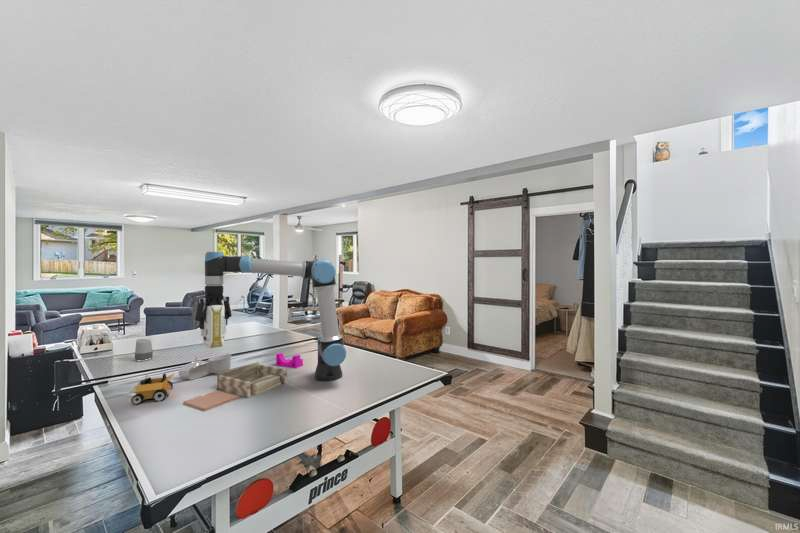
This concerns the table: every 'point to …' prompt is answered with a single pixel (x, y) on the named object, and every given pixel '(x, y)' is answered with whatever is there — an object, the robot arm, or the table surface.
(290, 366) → the toy block
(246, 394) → the birch rack
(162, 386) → the yellow toy car
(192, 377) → the vr headset
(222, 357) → the teacup
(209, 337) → the juice carton
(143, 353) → the smart speaker
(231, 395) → the pad
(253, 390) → the offcut stack
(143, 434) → the table surface
